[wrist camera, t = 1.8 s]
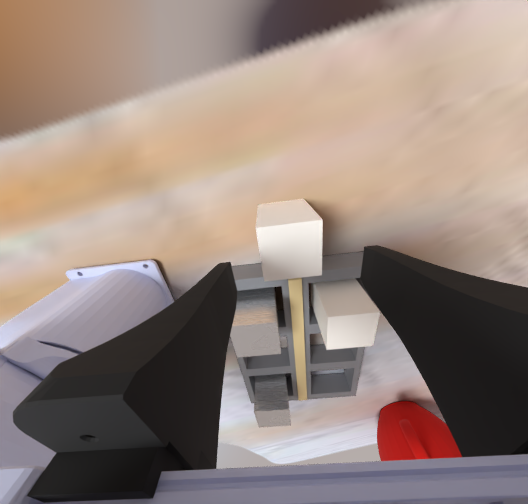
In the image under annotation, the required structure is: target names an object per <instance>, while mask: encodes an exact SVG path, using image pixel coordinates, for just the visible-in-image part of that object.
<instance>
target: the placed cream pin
mask: <svg viewBox="0 0 528 504" xmlns="http://www.w3.org/2000/svg"><path fill="white" fill-rule="evenodd" d="M311 303H312V306H313V309H314V313H315V316H316V319H317V322H318V325H319V328H320V331H321V334H322V337H323V340H324V343H325V346H326V350H331V349H343V348H354V347H366V346H373V344H374V340H375V335H376V330H377V326H378V321H379V316H380V311H379V310H378V308H377V307H376V306H375V304H374V303H373V302H372V300H371V299H370V297H369V296H368V295H367V293H366V292H365V291H364V289H363V288H362V287H361V285H360V284H359V283H358V281H357V280H356V279H355V278H353V279H343V280H334V281H324V282H315V283H311Z"/></svg>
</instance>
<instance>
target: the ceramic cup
mask: <svg viewBox="0 0 528 504" xmlns="http://www.w3.org/2000/svg"><path fill="white" fill-rule="evenodd" d="M377 442H378V449H379V455H380V458H381V461H395V460H416V459H437V458H458V457H462V455H461V453H460V451H459V449H458V447H457V444H456V442H455V440H454V438H453V436H452V434H451V432H450V430H449V428H448V426H447V424H446V423H444V422H443V421H442V420H441V419H439V418H438V417H437V416H435V415H434V414H432V413H431V412H429V411H427V410H426V409H424V408H422V407H420V406H418V404H416V403H414V402H410V401H401V402H395V403H392V404H389V405H387V406H385V407H384V408H383V409H382V410H381V411H380V417H379V421H378V428H377Z"/></svg>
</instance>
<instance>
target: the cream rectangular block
mask: <svg viewBox="0 0 528 504" xmlns="http://www.w3.org/2000/svg"><path fill="white" fill-rule="evenodd" d="M256 233H257V239H258V245H259V252H260V258H261V264H262V271H263V277H264V282H265V281H274V280H283V279H292V278H302V277H311V276H320V275H322V233H323V219H322V218H321V217H320V216H319V215H318V214H317V213H316V212H315V211H314V210H313V208H312V207H311V206H310V205H309V204H308V203H307V202H306V201H305V200H304V199H295V200H288V201H280V202H273V203H265V204H258V210H257V220H256Z"/></svg>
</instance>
